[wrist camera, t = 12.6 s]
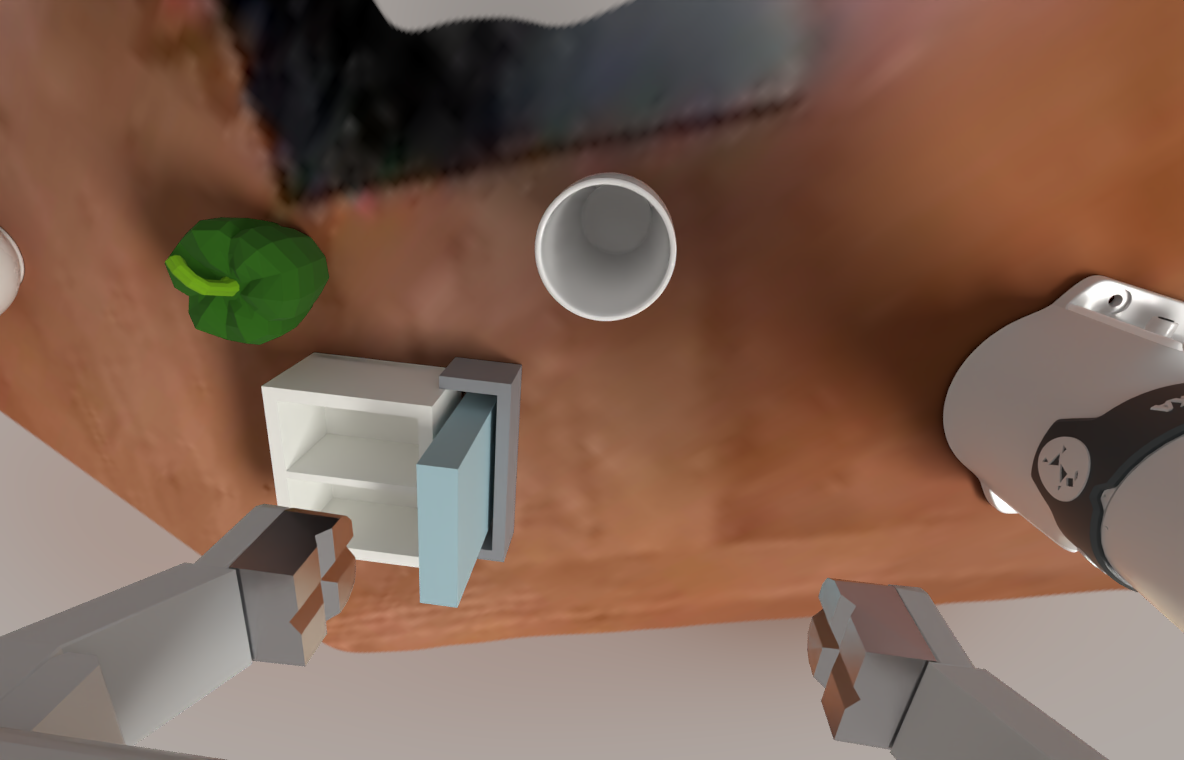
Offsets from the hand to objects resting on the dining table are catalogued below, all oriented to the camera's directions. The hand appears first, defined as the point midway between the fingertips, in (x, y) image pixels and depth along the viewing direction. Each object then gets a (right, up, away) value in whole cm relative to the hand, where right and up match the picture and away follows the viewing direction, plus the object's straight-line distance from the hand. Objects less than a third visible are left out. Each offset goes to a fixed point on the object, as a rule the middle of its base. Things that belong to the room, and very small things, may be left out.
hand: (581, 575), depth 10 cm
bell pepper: (-22, +12, +34) cm, 43 cm away
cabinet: (-14, -2, +39) cm, 41 cm away
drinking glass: (+2, +15, +31) cm, 34 cm away
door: (-9, -2, +39) cm, 40 cm away
